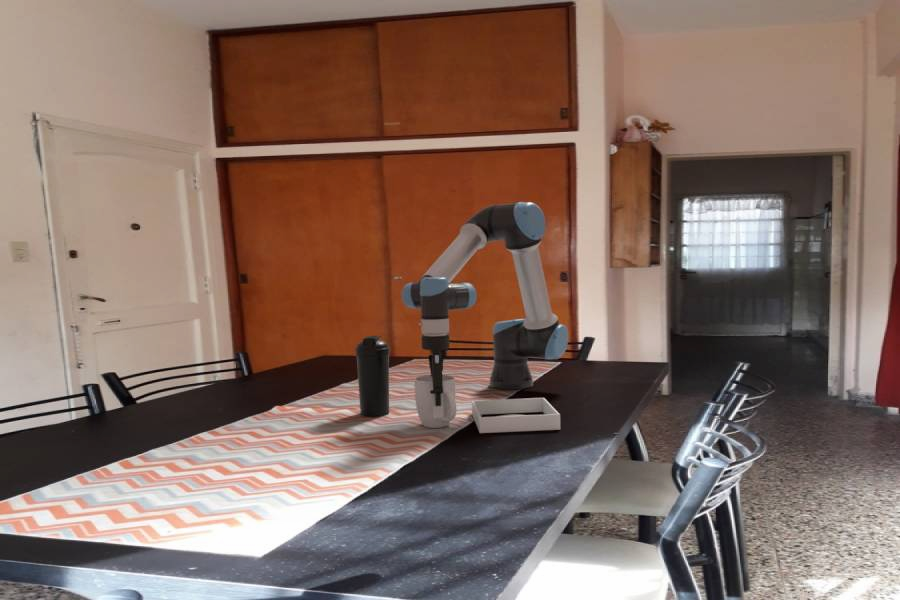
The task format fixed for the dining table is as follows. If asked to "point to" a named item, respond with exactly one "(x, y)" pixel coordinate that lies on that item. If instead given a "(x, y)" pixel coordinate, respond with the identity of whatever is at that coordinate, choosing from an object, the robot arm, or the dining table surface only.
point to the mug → (426, 401)
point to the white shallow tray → (515, 421)
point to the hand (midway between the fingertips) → (437, 412)
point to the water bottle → (373, 376)
